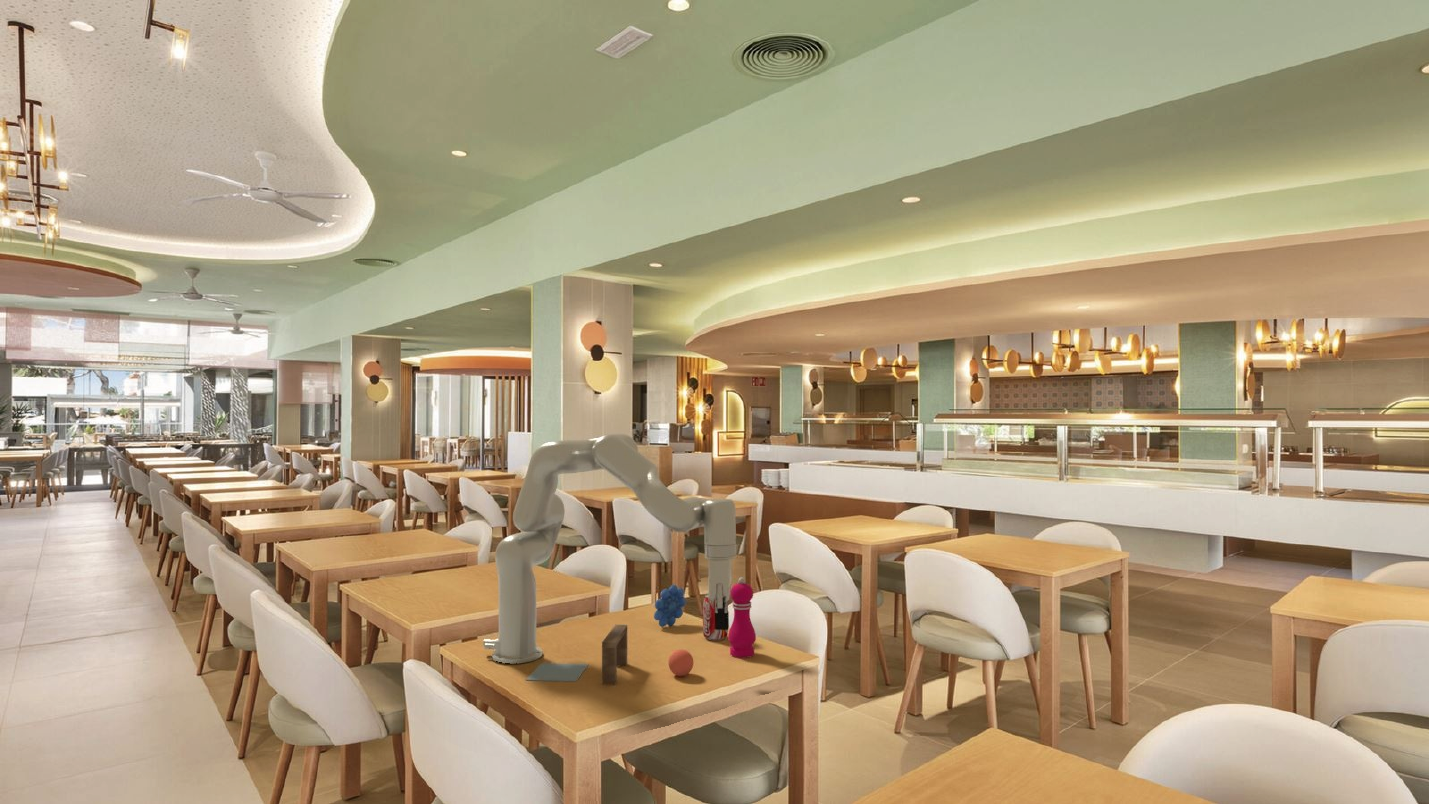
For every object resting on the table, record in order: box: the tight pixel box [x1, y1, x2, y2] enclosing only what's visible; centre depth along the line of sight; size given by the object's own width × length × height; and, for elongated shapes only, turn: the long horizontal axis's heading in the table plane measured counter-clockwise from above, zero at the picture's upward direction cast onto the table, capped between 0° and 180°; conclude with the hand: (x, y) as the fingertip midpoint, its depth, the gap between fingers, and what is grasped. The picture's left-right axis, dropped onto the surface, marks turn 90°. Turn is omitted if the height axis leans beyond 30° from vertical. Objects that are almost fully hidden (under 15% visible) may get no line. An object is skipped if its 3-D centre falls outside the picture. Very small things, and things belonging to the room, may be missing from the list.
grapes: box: [653, 584, 687, 628], centre depth 220 cm, size 12×7×12 cm, turn 131°
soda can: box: [702, 593, 729, 642], centre depth 207 cm, size 7×7×12 cm
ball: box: [668, 649, 694, 677], centre depth 177 cm, size 6×6×6 cm
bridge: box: [601, 624, 628, 686], centre depth 178 cm, size 3×15×10 cm, turn 176°
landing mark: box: [525, 662, 589, 683], centre depth 179 cm, size 12×12×1 cm
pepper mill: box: [727, 577, 757, 659], centre depth 193 cm, size 7×7×20 cm
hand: (721, 628), depth 175 cm, fingers closed
